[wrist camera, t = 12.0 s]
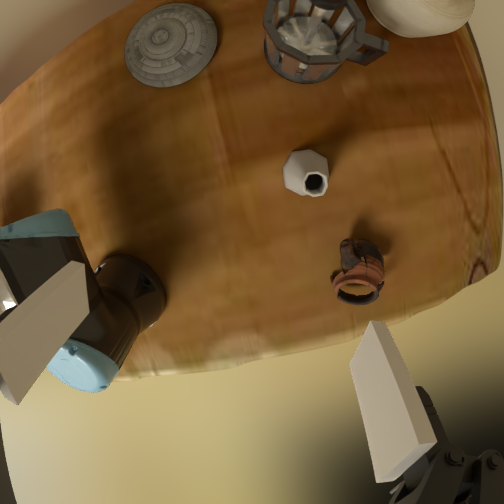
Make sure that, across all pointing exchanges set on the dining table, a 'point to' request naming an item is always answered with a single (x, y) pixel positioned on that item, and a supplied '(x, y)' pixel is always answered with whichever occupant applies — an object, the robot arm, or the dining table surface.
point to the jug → (421, 16)
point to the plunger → (311, 31)
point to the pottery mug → (359, 270)
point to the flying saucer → (170, 45)
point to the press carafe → (318, 64)
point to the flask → (306, 173)
